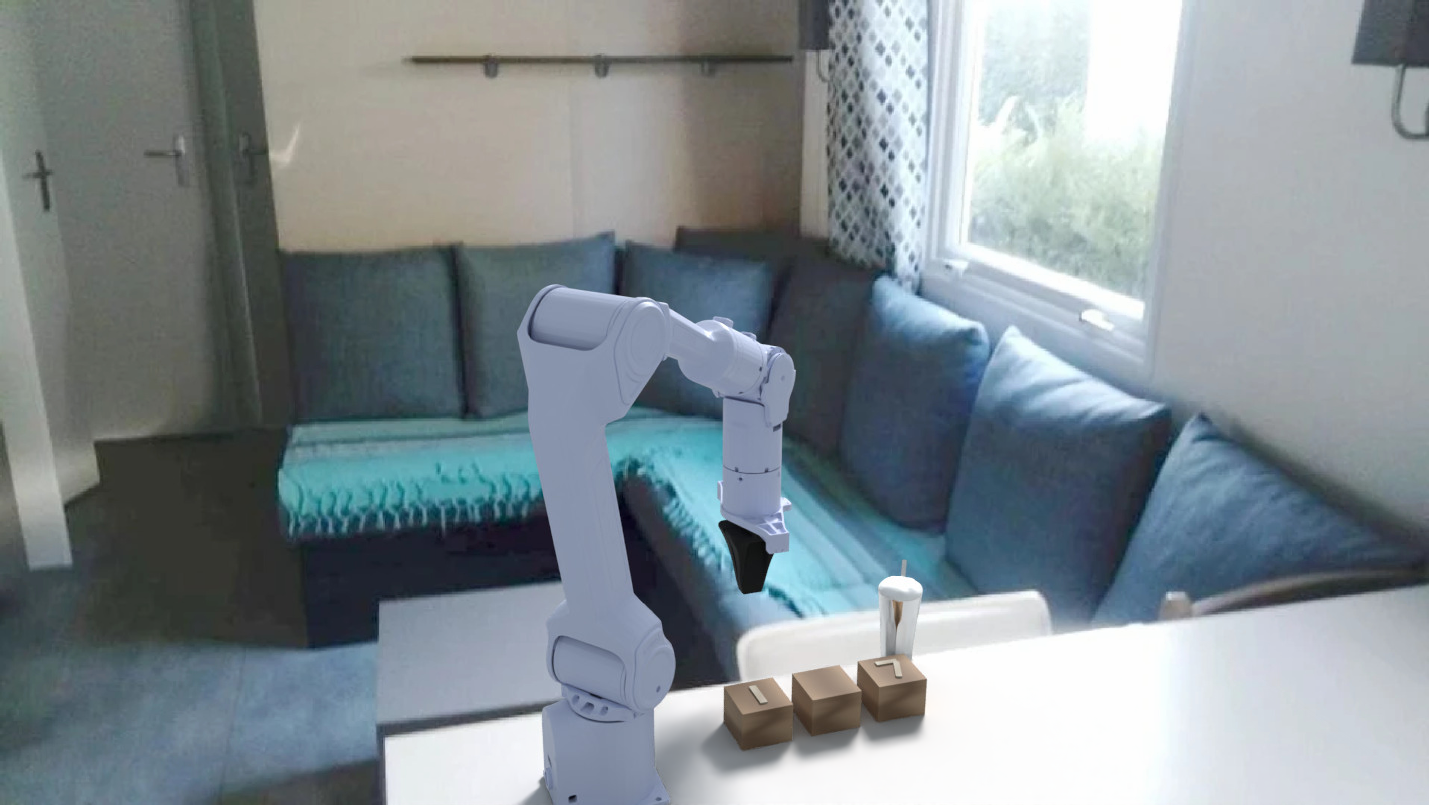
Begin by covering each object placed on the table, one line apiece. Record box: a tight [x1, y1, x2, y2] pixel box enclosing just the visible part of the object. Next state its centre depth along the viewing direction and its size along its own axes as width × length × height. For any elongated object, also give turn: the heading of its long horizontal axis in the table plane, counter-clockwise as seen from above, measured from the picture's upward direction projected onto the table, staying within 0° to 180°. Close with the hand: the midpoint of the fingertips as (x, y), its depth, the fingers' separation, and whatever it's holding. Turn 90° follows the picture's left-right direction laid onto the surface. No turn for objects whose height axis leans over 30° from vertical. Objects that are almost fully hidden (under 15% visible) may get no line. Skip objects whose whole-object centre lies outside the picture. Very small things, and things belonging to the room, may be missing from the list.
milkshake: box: [877, 559, 924, 662], centre depth 120 cm, size 4×5×10 cm
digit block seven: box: [856, 654, 928, 723], centre depth 112 cm, size 5×5×4 cm
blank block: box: [790, 664, 862, 737], centre depth 110 cm, size 5×5×4 cm
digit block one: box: [723, 677, 794, 752], centre depth 108 cm, size 5×5×4 cm
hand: (750, 590), depth 115 cm, fingers closed
